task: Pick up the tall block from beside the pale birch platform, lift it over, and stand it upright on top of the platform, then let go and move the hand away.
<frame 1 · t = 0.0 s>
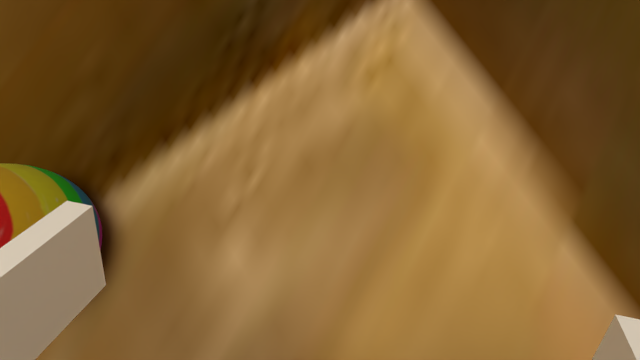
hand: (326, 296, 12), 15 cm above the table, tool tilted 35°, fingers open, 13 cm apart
decorative egg: (63, 240, 30), on the table
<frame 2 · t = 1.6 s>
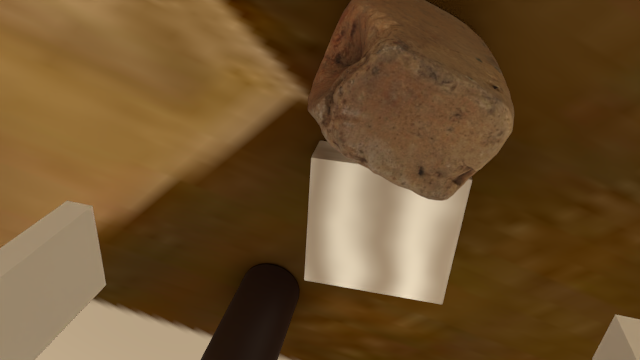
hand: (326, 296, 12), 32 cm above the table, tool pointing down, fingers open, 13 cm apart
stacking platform: (383, 213, 48), on the table
block: (408, 41, 40), on the table
bottle: (272, 284, 55), on the table
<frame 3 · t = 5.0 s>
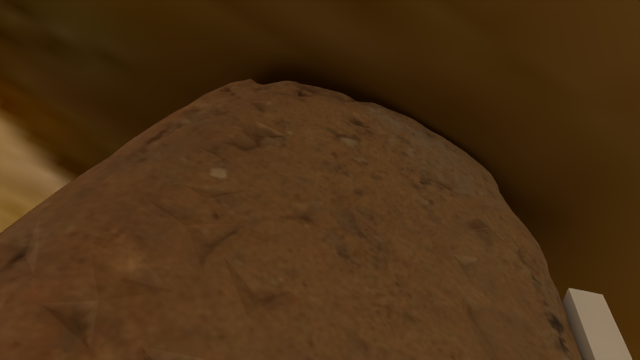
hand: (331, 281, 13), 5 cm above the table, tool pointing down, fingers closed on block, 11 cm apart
block: (352, 186, 17), on the table, touching gripper
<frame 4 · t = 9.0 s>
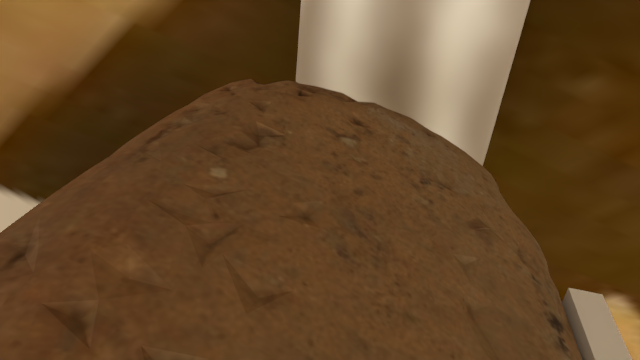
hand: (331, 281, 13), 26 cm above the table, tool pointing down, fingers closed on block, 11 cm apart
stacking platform: (400, 64, 35), on the table
block: (352, 186, 17), point 21 cm above the table, touching gripper
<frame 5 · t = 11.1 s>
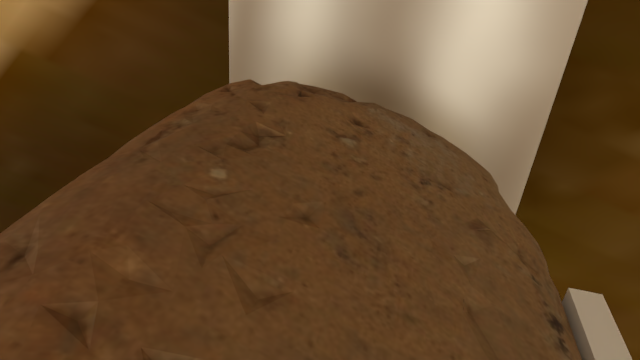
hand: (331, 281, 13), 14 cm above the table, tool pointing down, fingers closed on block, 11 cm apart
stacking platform: (382, 109, 25), on the table
block: (352, 186, 17), point 9 cm above the table, touching gripper
when the fingers open (11 cm above the table, at t = 12.9 s): block drops 2 cm, resting on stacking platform.
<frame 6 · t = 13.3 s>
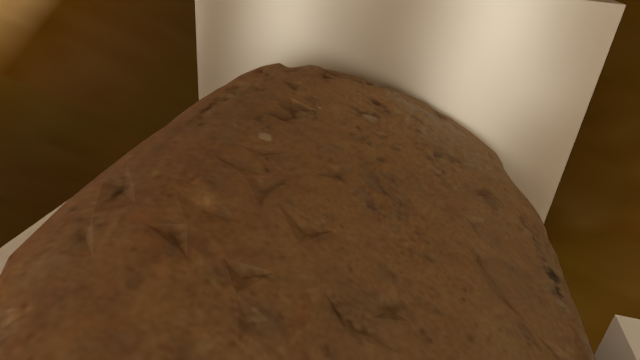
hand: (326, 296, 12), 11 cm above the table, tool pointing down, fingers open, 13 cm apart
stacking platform: (377, 133, 22), on the table
block: (367, 166, 19), point 4 cm above the table, touching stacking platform
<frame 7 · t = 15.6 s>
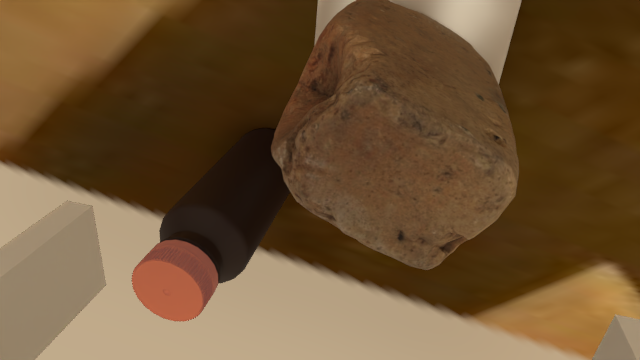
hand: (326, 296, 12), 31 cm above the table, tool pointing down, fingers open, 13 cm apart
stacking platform: (407, 50, 39), on the table
block: (405, 60, 35), point 4 cm above the table, touching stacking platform
bottle: (269, 158, 46), on the table
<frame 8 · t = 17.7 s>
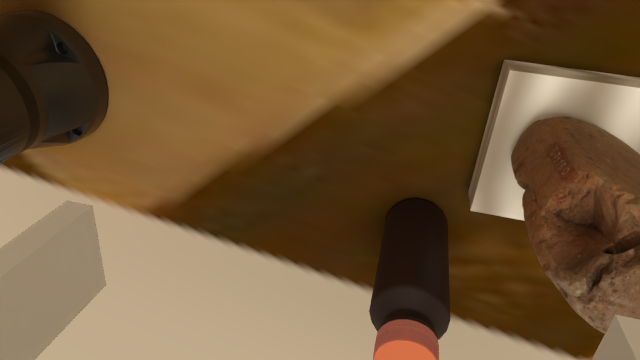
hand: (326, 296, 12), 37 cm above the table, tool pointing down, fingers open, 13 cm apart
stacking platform: (559, 141, 45), on the table
block: (569, 157, 42), point 4 cm above the table, touching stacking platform
bottle: (416, 222, 53), on the table
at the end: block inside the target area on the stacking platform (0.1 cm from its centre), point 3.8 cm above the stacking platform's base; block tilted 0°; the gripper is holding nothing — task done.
